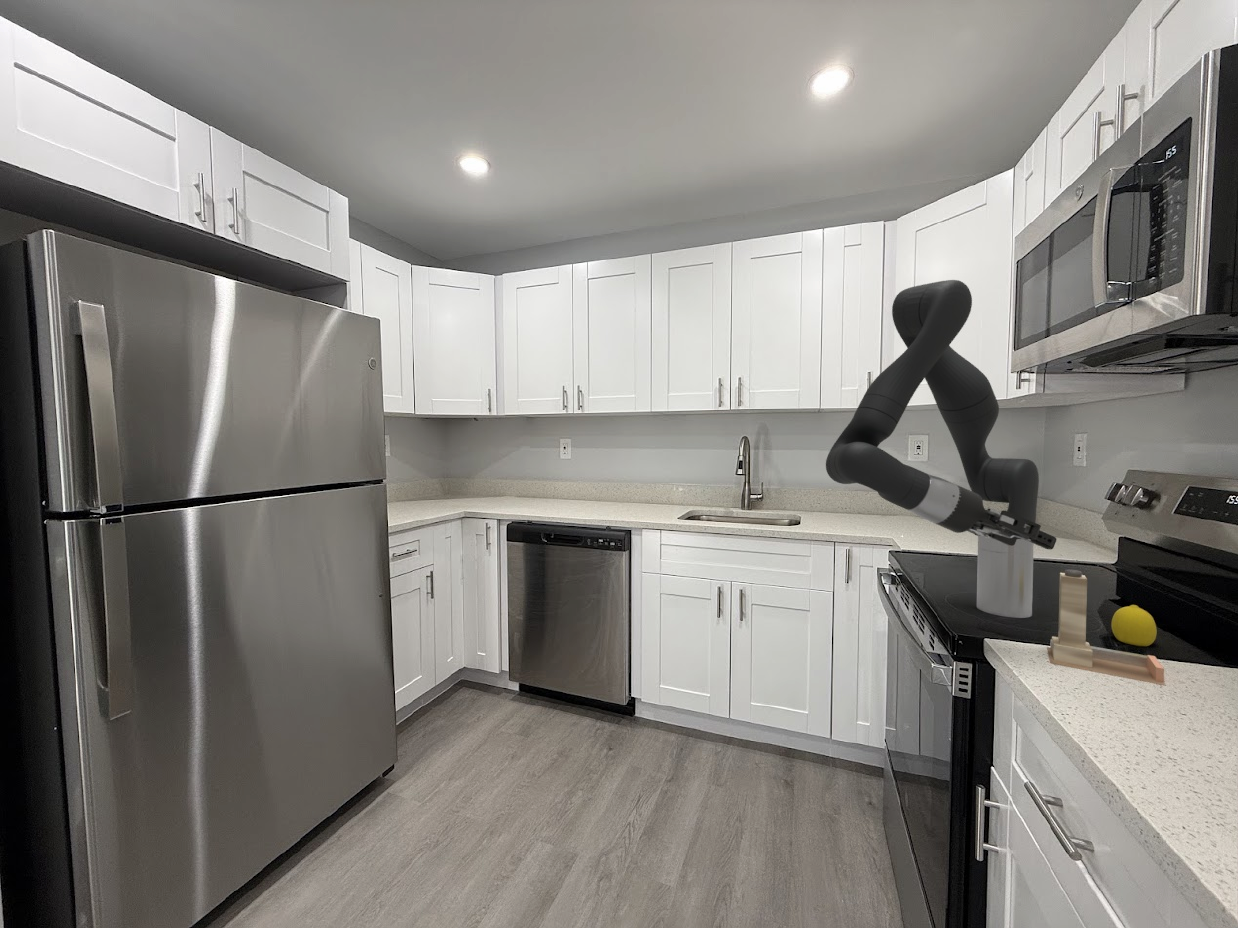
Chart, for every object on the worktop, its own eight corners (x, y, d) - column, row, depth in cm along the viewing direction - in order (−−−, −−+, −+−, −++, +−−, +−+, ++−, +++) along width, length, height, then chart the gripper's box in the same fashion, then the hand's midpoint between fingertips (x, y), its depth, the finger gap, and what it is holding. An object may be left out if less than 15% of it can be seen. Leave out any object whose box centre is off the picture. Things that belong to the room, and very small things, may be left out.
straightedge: (1050, 647, 86) (1050, 639, 86) (1147, 665, 79) (1148, 655, 79) (1051, 650, 85) (1051, 641, 85) (1149, 668, 78) (1150, 658, 78)
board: (1046, 655, 86) (1046, 646, 86) (1151, 675, 79) (1152, 665, 79) (1050, 672, 80) (1050, 663, 80) (1165, 695, 72) (1165, 685, 72)
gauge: (1051, 651, 84) (1053, 566, 84) (1088, 657, 82) (1090, 570, 81) (1053, 660, 81) (1056, 571, 80) (1092, 667, 78) (1094, 575, 78)
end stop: (1147, 667, 78) (1147, 654, 78) (1154, 669, 77) (1154, 656, 77) (1155, 680, 74) (1156, 667, 74) (1163, 682, 73) (1164, 668, 73)
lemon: (1140, 645, 90) (1142, 601, 90) (1164, 658, 85) (1166, 611, 85) (1103, 642, 92) (1104, 599, 92) (1124, 654, 86) (1125, 608, 86)
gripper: (977, 480, 80) (1076, 523, 79) (926, 484, 94) (1010, 521, 93) (959, 523, 80) (1059, 567, 79) (911, 521, 94) (995, 558, 93)
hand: (1032, 542), depth 86 cm, fingers open, 8 cm apart
